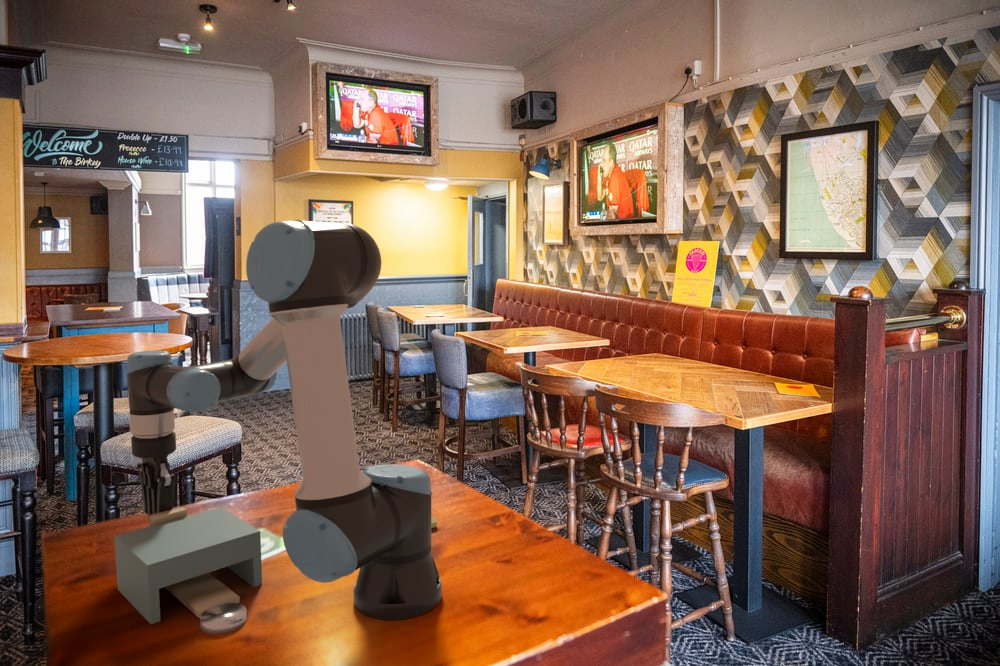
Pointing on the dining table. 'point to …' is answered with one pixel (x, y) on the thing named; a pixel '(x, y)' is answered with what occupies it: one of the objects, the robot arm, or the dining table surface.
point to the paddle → (195, 578)
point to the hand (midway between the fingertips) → (160, 552)
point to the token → (223, 618)
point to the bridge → (184, 555)
